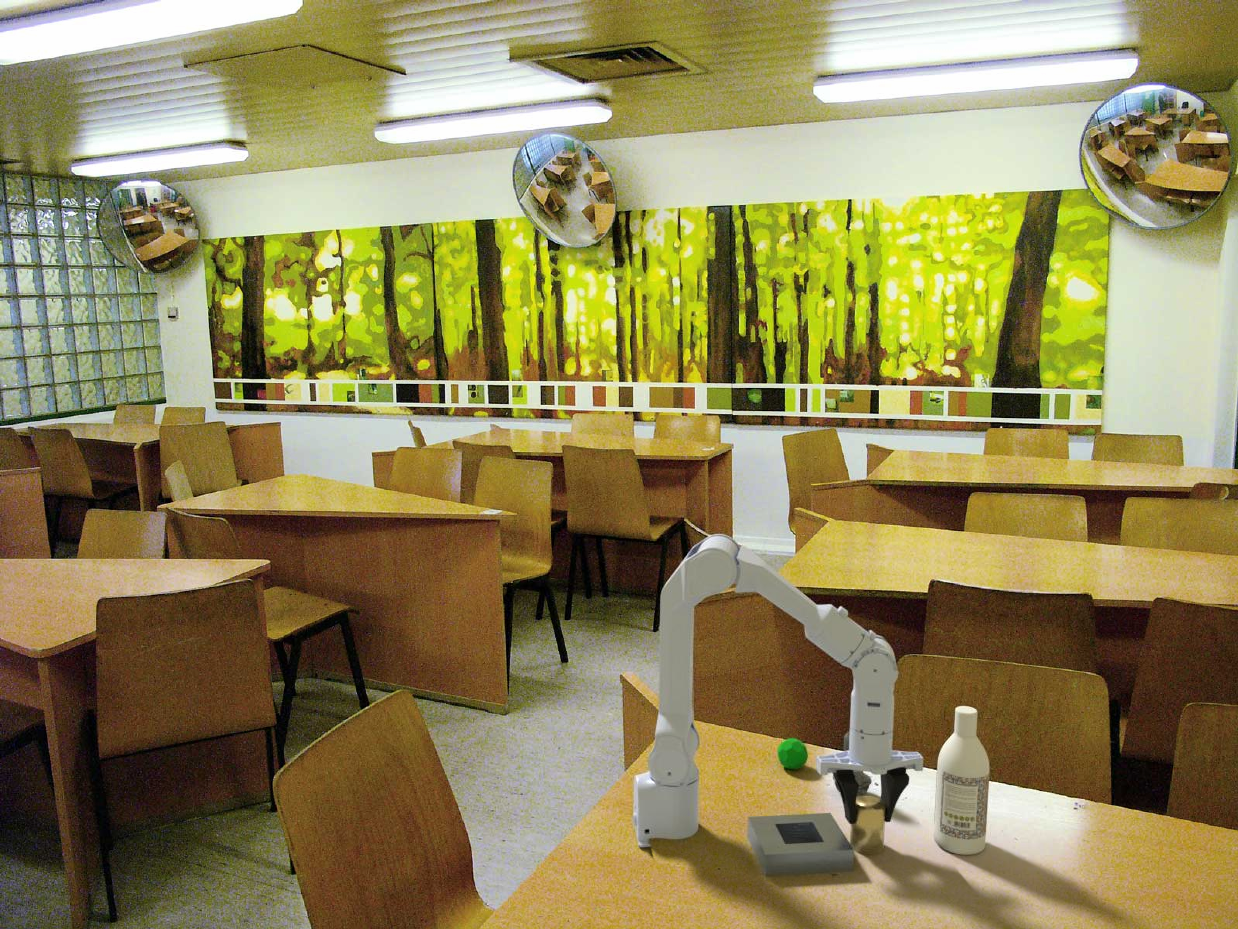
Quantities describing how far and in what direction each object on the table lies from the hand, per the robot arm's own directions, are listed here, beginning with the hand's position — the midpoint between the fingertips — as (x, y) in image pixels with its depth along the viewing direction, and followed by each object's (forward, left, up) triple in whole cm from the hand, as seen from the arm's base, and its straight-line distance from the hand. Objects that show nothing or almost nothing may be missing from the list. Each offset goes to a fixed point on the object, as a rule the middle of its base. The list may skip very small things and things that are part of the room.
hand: (867, 819), depth 137 cm
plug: (0, 0, -4) cm, 4 cm away
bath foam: (+14, +1, -5) cm, 15 cm away
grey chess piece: (+3, +15, -5) cm, 16 cm away
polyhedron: (-3, +27, -5) cm, 28 cm away
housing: (-10, -1, -5) cm, 11 cm away
